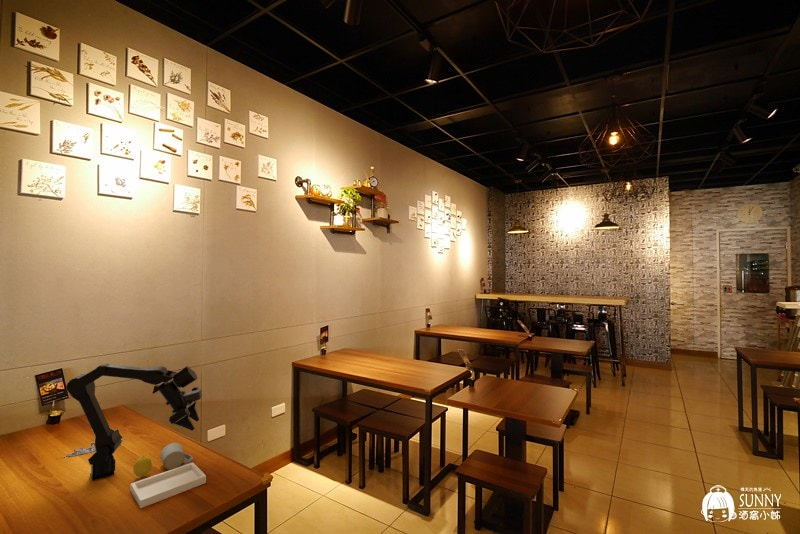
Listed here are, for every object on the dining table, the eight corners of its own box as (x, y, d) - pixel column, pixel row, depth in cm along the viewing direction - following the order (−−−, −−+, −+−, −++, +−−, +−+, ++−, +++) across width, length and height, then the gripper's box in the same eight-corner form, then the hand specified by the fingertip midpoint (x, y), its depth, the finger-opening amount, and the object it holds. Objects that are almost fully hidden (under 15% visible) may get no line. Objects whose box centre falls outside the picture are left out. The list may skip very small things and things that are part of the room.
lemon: (139, 473, 138) (139, 452, 138) (154, 473, 139) (155, 452, 139) (129, 481, 133) (130, 459, 133) (145, 481, 133) (146, 459, 133)
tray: (140, 508, 118) (140, 500, 118) (130, 490, 127) (130, 483, 127) (206, 482, 132) (206, 475, 132) (192, 468, 142) (192, 462, 142)
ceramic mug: (163, 473, 138) (163, 453, 139) (160, 464, 145) (161, 445, 145) (194, 464, 145) (195, 445, 145) (190, 457, 151) (190, 438, 152)
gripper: (186, 389, 138) (210, 421, 141) (197, 376, 156) (218, 404, 159) (158, 407, 135) (182, 439, 138) (171, 392, 153) (193, 421, 155)
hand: (195, 425), depth 147 cm, fingers open, 9 cm apart
